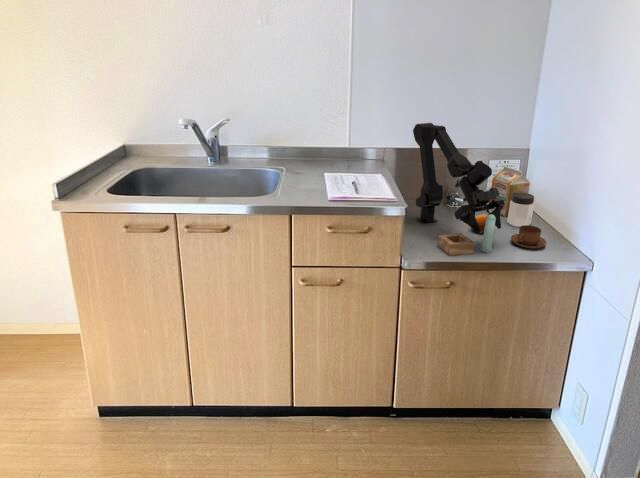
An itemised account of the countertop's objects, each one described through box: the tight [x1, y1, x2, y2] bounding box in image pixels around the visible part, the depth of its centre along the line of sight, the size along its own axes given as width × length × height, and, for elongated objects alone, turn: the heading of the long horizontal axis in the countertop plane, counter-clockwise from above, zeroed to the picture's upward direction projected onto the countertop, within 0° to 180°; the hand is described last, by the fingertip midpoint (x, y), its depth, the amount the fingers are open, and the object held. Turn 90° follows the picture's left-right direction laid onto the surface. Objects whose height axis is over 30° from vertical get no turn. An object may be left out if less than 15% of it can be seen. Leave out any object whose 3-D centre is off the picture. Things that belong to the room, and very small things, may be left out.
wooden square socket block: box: [437, 232, 476, 257], centre depth 175 cm, size 9×9×4 cm
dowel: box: [481, 214, 496, 254], centre depth 173 cm, size 3×3×14 cm
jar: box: [506, 192, 535, 228], centre depth 198 cm, size 9×8×12 cm
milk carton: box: [488, 165, 531, 218], centre depth 210 cm, size 11×11×19 cm
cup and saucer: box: [510, 225, 547, 249], centre depth 180 cm, size 12×12×6 cm
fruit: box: [472, 214, 488, 234], centre depth 191 cm, size 8×8×8 cm
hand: (489, 230), depth 172 cm, fingers open, 9 cm apart
